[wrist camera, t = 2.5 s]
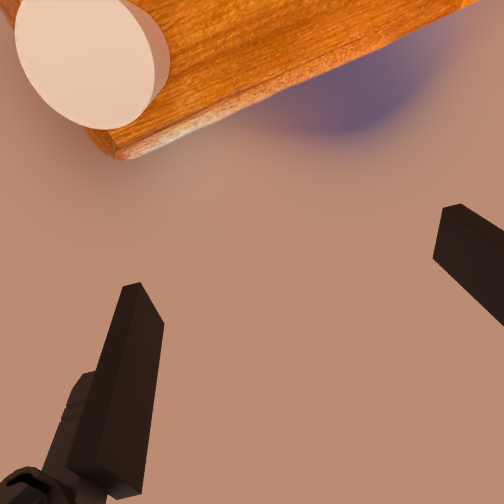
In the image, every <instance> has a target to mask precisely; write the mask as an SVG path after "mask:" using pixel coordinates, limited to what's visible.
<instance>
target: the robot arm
mask: <svg viewBox="0 0 504 504" xmlns="http://www.w3.org/2000/svg"><path fill="white" fill-rule="evenodd" d="M433 259H434V260H435V261H436V262H437V263H438V264H439V265H440V266H441V267H442V268H443V269H444V270H445V271H446V272H447V273H448V274H449V275H450V276H451V277H452V278H454V279H455V280H456V281H457V282H458V283H459V284H460V285H461V286H462V287H463V288H464V289H465V290H466V291H467V292H468V293H469V294H470V295H471V296H473V298H474V299H476V300H477V301H478V302H479V303H480V304H481V305H482V306H483V307H484V308H485V309H486V310H487V311H488V312H489V313H490V314H491V315H492V316H493V317H494V318H495V319H496V320H498V321H499V322H500V323H501V324H502V325H503V326H504V231H503V230H502V229H500V228H498V227H497V226H495V225H494V224H492V223H491V222H489V221H487V220H486V219H484V218H483V217H481V216H479V215H478V214H476V213H475V212H473V211H472V210H470V209H469V208H467V207H465V206H464V205H462V204H457V205H453V206H449V207H445V208H443V210H442V215H441V220H440V225H439V230H438V235H437V239H436V245H435V249H434V254H433ZM163 331H164V322H163V320H162V319H161V317H160V316H159V314H158V312H157V310H156V308H155V307H154V305H153V303H152V302H151V300H150V298H149V296H148V294H147V293H146V291H145V289H144V288H143V286H142V284H141V283H140V282H139V283H135V284H131V285H127V286H123V288H122V291H121V294H120V297H119V300H118V303H117V306H116V309H115V312H114V315H113V318H112V322H111V325H110V328H109V331H108V334H107V337H106V340H105V343H104V346H103V349H102V353H101V356H100V359H99V362H98V365H97V368H96V371H93V372H88V373H84V374H83V375H82V376H81V377H80V379H79V380H78V382H77V383H76V384H75V386H74V387H73V389H72V391H71V393H70V396H69V399H68V401H67V404H66V408H65V409H64V412H63V415H62V417H61V422H60V423H59V425H58V428H57V431H56V433H55V436H54V439H53V441H52V444H51V447H50V450H49V452H48V455H47V458H46V460H45V463H44V466H43V468H42V471H40V470H38V469H37V468H35V467H24V468H21V469H18V470H16V471H14V472H13V473H12V474H10V475H9V476H7V477H6V478H5V479H4V480H3V481H2V482H1V483H0V504H106V499H107V494H108V495H110V496H112V497H113V498H114V499H116V500H119V499H123V498H127V497H131V496H136V495H140V494H142V486H143V478H144V472H145V463H146V456H147V449H148V441H149V435H150V427H151V420H152V412H153V405H154V397H155V390H156V383H157V375H158V368H159V360H160V353H161V345H162V338H163Z"/></svg>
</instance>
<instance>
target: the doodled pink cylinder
mask: <svg viewBox="0 0 504 504" xmlns="http://www.w3.org/2000/svg"><path fill="white" fill-rule="evenodd" d="M15 42H16V48H17V53H18V56H19V59H20V62H21V65H22V67H23V70H24V72H25V74H26V76H27V78H28V79H29V81H30V83H31V84H32V86H33V87H34V88H35V90H36V91H37V93H38V94H39V95H40V96H41V97H42V98H43V100H45V102H46V103H47V104H48V105H50V106H51V107H52V108H53V109H54V110H55V111H57V112H58V113H59V114H61V115H63V116H64V117H66V118H67V119H69V120H71V121H73V122H75V123H77V124H80V125H82V126H86V127H89V128H94V129H115V128H119V127H122V126H125V125H127V124H129V123H131V122H132V121H134V120H135V119H137V118H138V117H139V116H140V115H141V114H142V112H143V111H144V110H145V109H146V108H147V106H148V105H149V104H150V103H151V102H152V100H153V99H154V98H155V97H156V95H157V94H158V93H159V92H160V91H161V89H162V88H163V87H164V85H165V83H166V81H167V79H168V76H169V72H170V52H169V48H168V44H167V41H166V39H165V36H164V34H163V32H162V31H161V29H160V27H159V26H158V24H157V23H156V22H155V21H154V19H153V18H152V17H151V16H150V15H149V14H148V13H146V12H145V11H144V10H143V9H141V8H140V7H138V6H136V5H134V4H132V3H130V2H128V1H126V0H23V1H22V3H21V5H20V7H19V10H18V13H17V17H16V23H15Z"/></svg>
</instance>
